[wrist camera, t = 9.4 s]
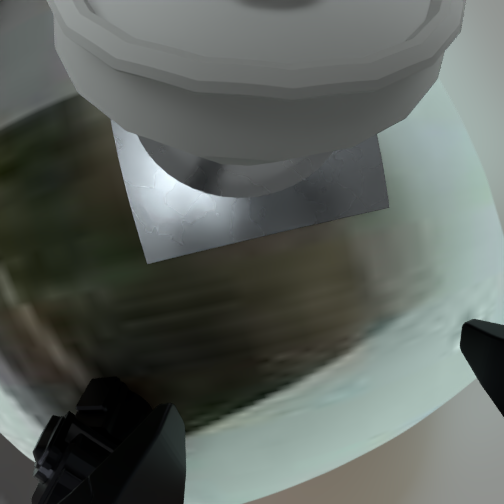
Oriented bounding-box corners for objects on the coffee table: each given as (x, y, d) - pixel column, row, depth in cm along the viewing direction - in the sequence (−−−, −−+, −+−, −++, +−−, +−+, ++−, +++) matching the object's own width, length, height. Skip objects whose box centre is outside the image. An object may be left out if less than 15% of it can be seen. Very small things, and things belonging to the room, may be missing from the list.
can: (310, 24, 12) (420, -136, 1) (324, 162, 14) (539, 171, 3) (161, 33, 12) (62, -133, 1) (168, 174, 14) (-19, 208, 3)
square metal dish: (382, 205, 19) (409, 213, 15) (151, 259, 19) (135, 278, 15) (323, -16, 14) (337, -42, 11) (102, 30, 15) (81, 9, 11)
